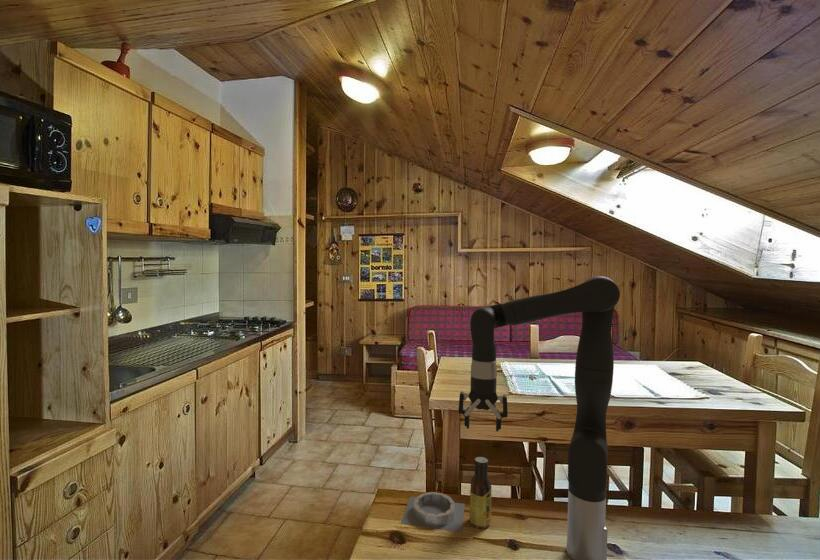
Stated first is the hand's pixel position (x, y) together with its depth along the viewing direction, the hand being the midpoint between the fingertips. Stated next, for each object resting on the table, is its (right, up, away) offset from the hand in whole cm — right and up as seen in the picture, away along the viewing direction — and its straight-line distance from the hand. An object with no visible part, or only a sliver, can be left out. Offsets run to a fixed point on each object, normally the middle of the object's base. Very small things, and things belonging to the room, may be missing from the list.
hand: (482, 429), depth 116 cm
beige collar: (-14, -28, +4) cm, 31 cm away
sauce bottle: (-1, -30, +1) cm, 30 cm away
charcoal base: (-14, -29, +5) cm, 32 cm away
